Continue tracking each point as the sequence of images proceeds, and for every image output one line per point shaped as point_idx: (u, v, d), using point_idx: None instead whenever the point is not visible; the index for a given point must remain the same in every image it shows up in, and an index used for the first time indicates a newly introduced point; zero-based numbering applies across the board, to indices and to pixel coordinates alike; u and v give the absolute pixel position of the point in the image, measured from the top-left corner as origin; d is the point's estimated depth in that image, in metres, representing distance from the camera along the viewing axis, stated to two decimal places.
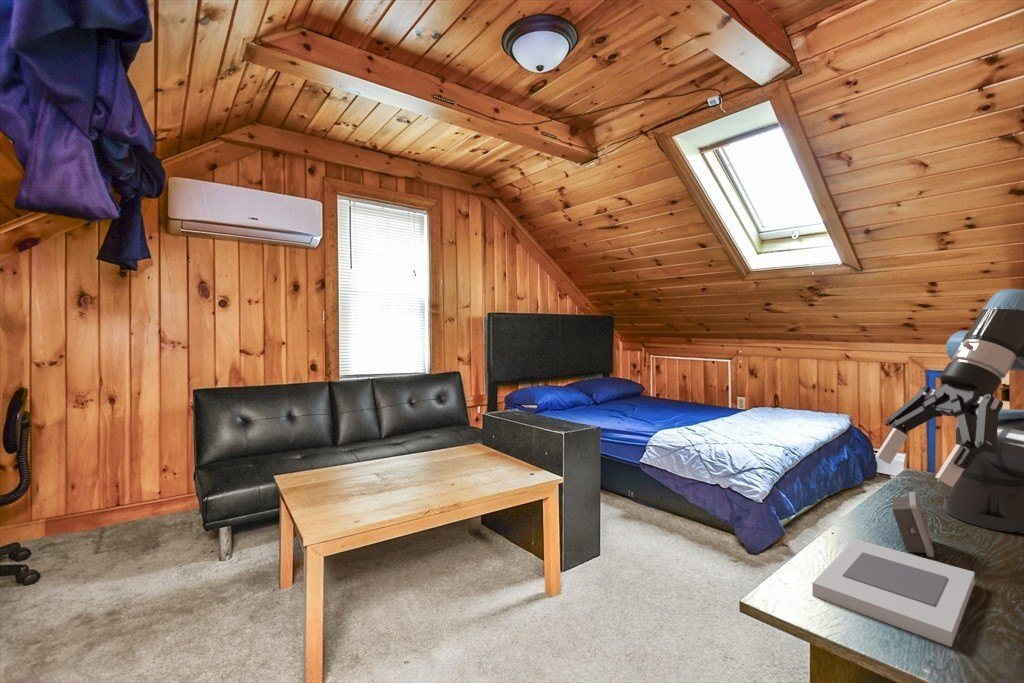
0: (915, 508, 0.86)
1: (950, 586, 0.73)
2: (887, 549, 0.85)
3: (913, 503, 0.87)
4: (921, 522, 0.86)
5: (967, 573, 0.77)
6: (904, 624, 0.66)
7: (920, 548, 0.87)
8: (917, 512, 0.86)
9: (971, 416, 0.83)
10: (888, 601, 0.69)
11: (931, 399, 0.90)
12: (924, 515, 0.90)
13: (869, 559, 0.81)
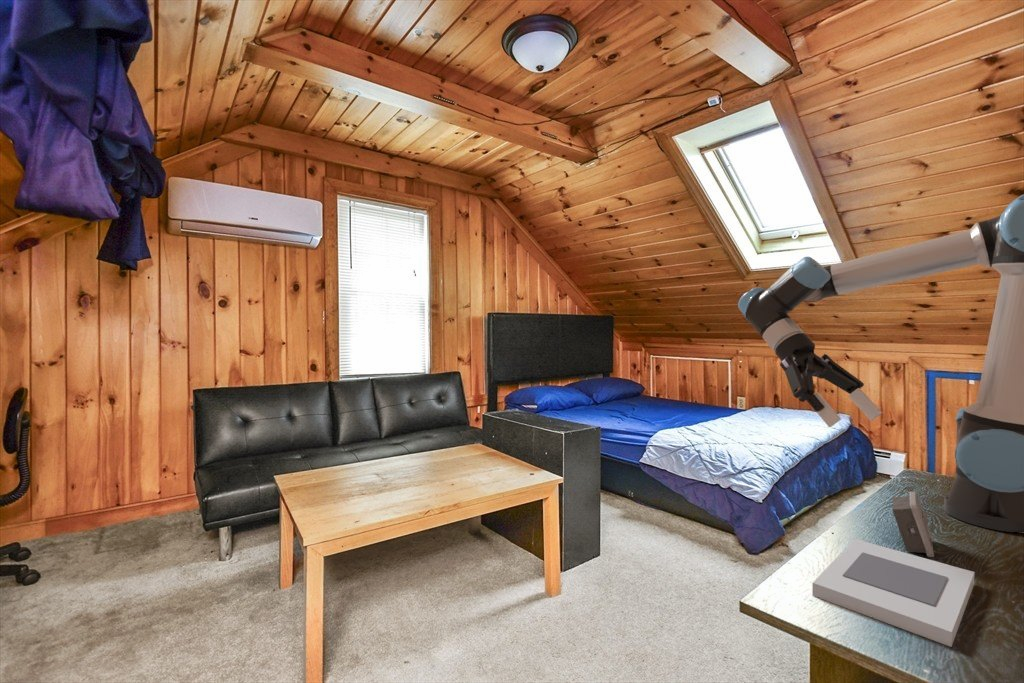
0: (915, 508, 0.86)
1: (950, 586, 0.73)
2: (887, 549, 0.85)
3: (913, 503, 0.87)
4: (921, 522, 0.86)
5: (967, 573, 0.77)
6: (904, 624, 0.66)
7: (920, 548, 0.87)
8: (917, 512, 0.86)
9: (803, 372, 1.04)
10: (888, 601, 0.69)
11: None
12: (924, 515, 0.90)
13: (869, 559, 0.81)
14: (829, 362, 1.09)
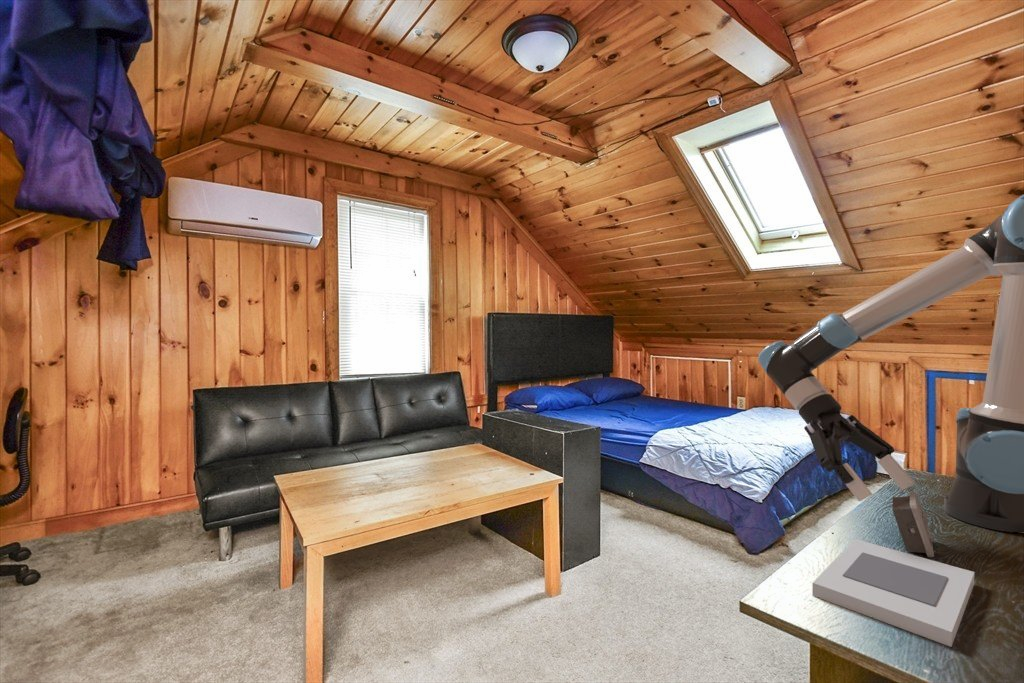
0: (915, 508, 0.86)
1: (950, 586, 0.73)
2: (887, 549, 0.85)
3: (913, 503, 0.87)
4: (921, 522, 0.86)
5: (967, 573, 0.77)
6: (904, 624, 0.66)
7: (920, 548, 0.87)
8: (917, 512, 0.86)
9: (830, 437, 0.99)
10: (888, 601, 0.69)
11: None
12: (924, 515, 0.90)
13: (869, 559, 0.81)
14: (856, 424, 1.04)
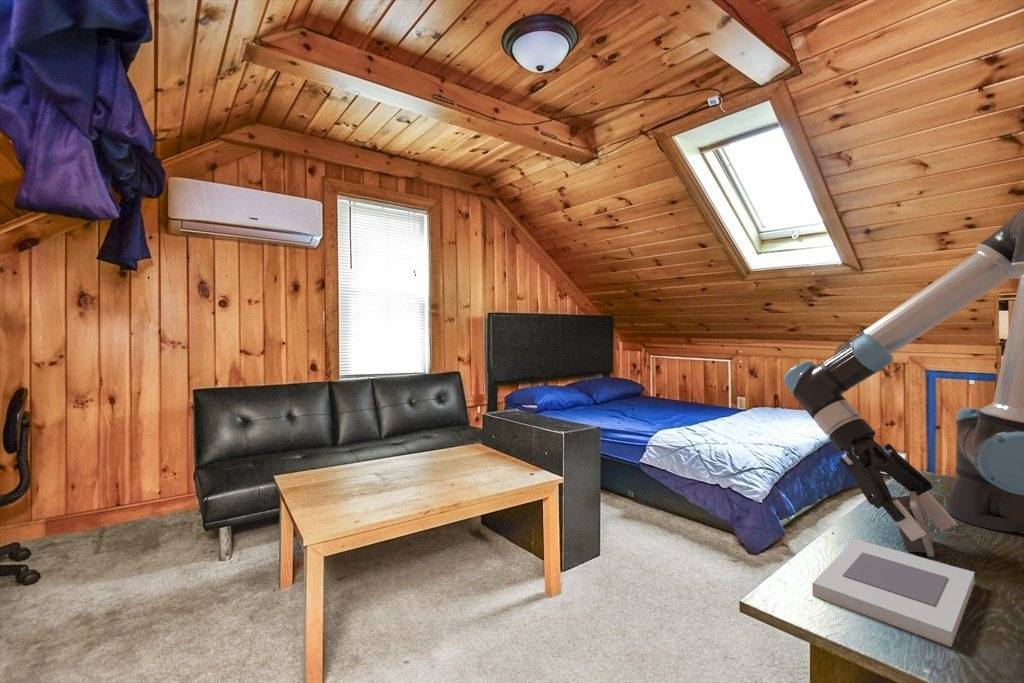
0: (915, 508, 0.86)
1: (950, 586, 0.73)
2: (887, 549, 0.85)
3: (913, 503, 0.87)
4: (921, 522, 0.86)
5: (967, 573, 0.77)
6: (904, 624, 0.66)
7: (920, 548, 0.87)
8: (917, 512, 0.86)
9: (869, 468, 0.94)
10: (888, 601, 0.69)
11: None
12: (924, 515, 0.90)
13: (869, 559, 0.81)
14: (892, 453, 0.98)
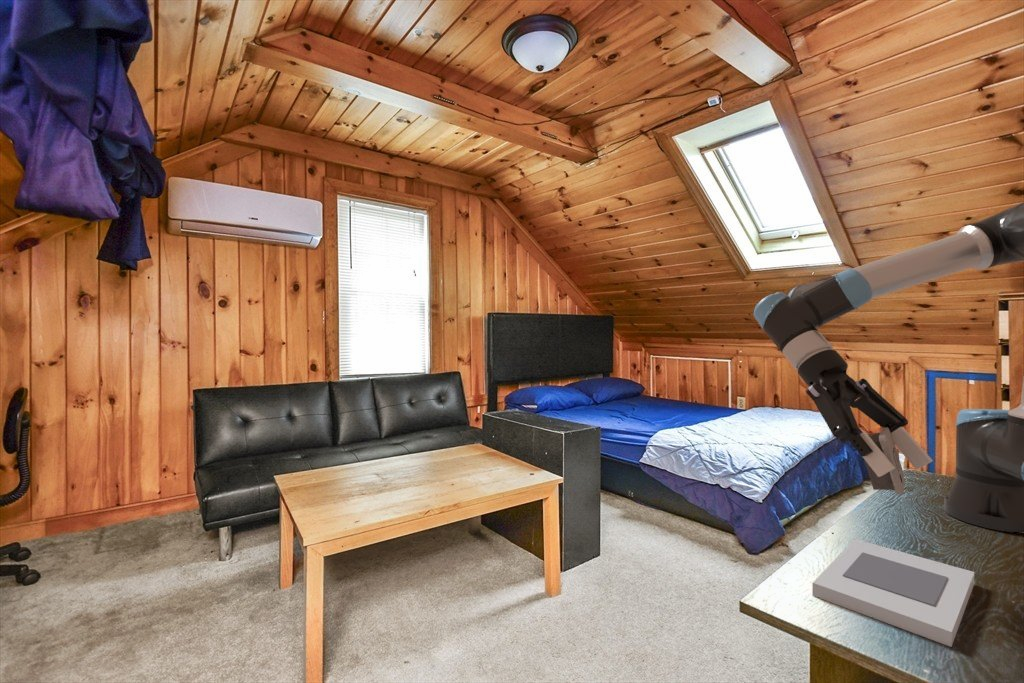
0: (884, 440, 0.77)
1: (950, 586, 0.73)
2: (887, 549, 0.85)
3: (882, 435, 0.78)
4: (890, 455, 0.77)
5: (967, 573, 0.77)
6: (904, 624, 0.66)
7: (888, 485, 0.78)
8: (886, 444, 0.77)
9: (837, 401, 0.84)
10: (888, 601, 0.69)
11: None
12: (896, 451, 0.80)
13: (869, 559, 0.81)
14: (866, 388, 0.88)
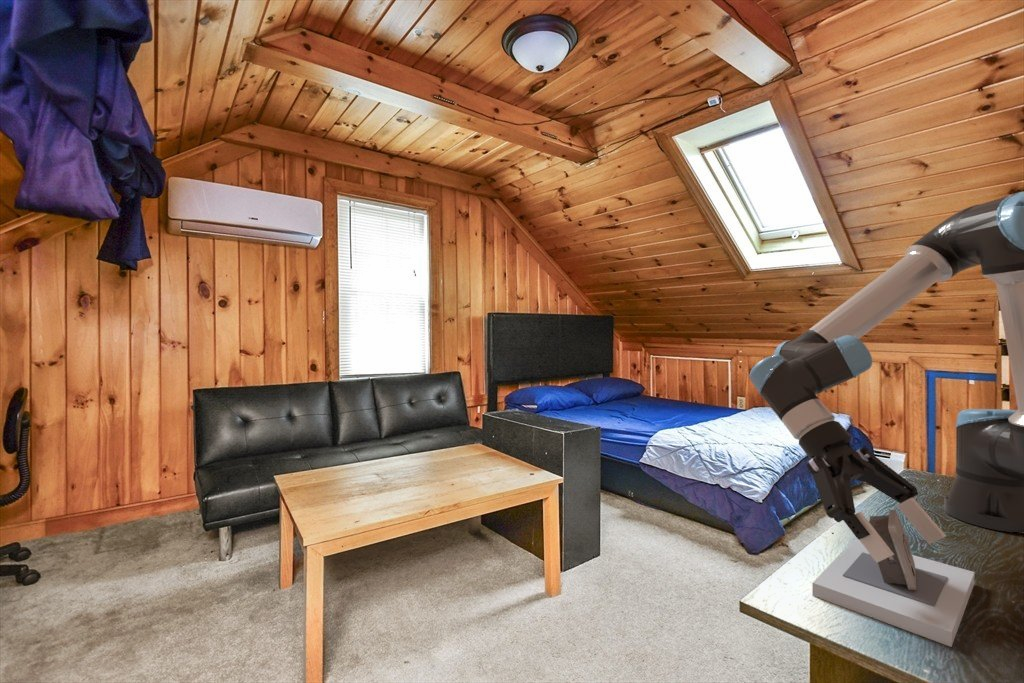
0: (894, 531, 0.72)
1: (950, 586, 0.73)
2: None
3: (892, 525, 0.73)
4: (901, 548, 0.72)
5: (967, 573, 0.77)
6: (904, 624, 0.66)
7: (900, 579, 0.73)
8: (896, 536, 0.72)
9: (838, 477, 0.79)
10: (888, 601, 0.69)
11: None
12: (906, 539, 0.75)
13: (869, 559, 0.81)
14: (870, 458, 0.84)
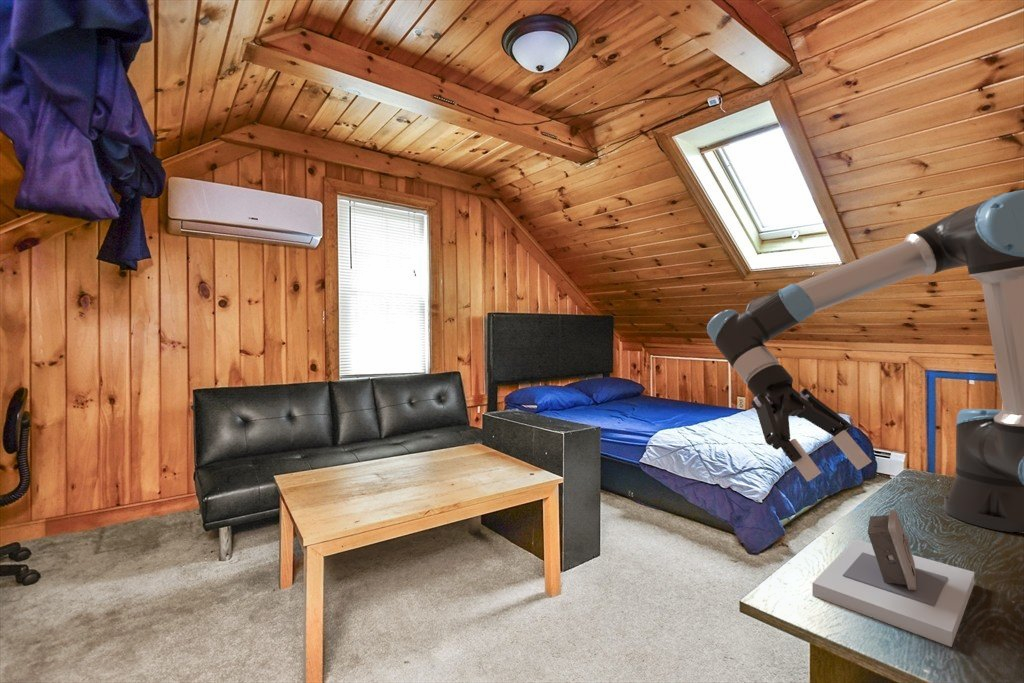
0: (894, 531, 0.72)
1: (950, 586, 0.73)
2: None
3: (892, 525, 0.73)
4: (901, 548, 0.72)
5: (967, 573, 0.77)
6: (904, 624, 0.66)
7: (900, 579, 0.73)
8: (896, 536, 0.72)
9: (778, 412, 0.89)
10: (888, 601, 0.69)
11: None
12: (906, 539, 0.75)
13: (869, 559, 0.81)
14: (810, 398, 0.93)
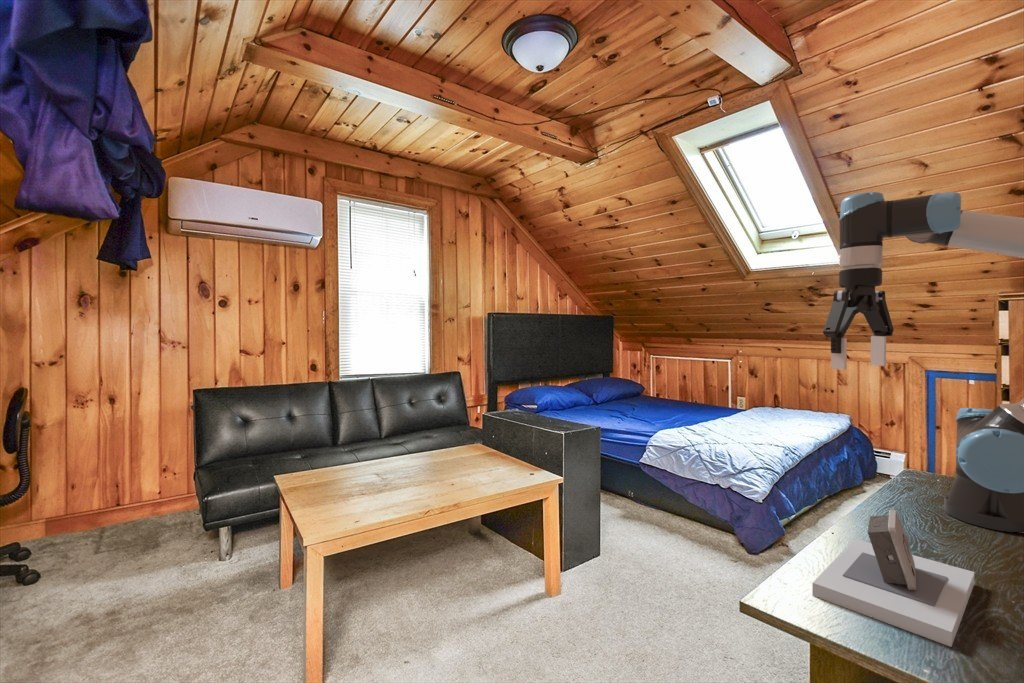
0: (894, 531, 0.72)
1: (950, 586, 0.73)
2: None
3: (892, 525, 0.73)
4: (901, 548, 0.72)
5: (967, 573, 0.77)
6: (904, 624, 0.66)
7: (900, 579, 0.73)
8: (896, 536, 0.72)
9: (849, 309, 1.02)
10: (888, 601, 0.69)
11: None
12: (906, 539, 0.75)
13: (869, 559, 0.81)
14: (880, 301, 1.06)
